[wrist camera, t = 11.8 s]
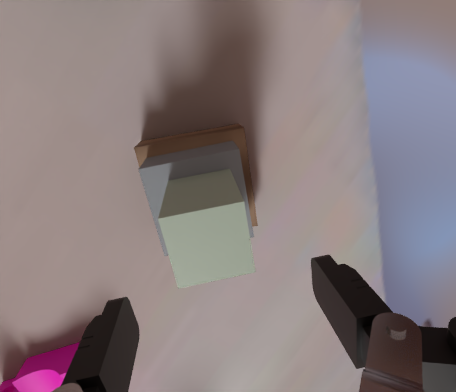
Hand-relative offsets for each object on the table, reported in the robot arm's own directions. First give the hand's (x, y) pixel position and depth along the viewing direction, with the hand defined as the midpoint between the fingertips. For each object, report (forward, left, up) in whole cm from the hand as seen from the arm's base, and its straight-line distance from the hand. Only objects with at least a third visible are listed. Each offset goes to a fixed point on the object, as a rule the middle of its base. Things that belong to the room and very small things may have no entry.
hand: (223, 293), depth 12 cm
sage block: (+1, 0, -12) cm, 12 cm away
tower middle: (+1, -1, -16) cm, 16 cm away
